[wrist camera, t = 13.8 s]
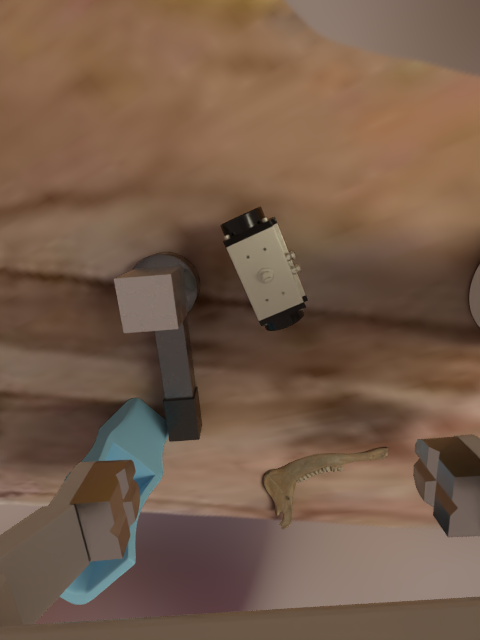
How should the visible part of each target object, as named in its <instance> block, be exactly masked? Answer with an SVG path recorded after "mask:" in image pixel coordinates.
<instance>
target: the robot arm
mask: <svg viewBox="0 0 480 640" xmlns="http://www.w3.org/2000/svg"><path fill="white" fill-rule="evenodd" d="M469 303H470V309H471V313H472V316H473V318H474V320H475V322H476V323H477V325H478V326H479V327H480V265H479V267H478V268H477V270H476V272H475V274H474V277H473V280H472V283H471V287H470V294H469ZM415 453H416V454H417V456H418V457H419V460H418V461H417V462H416V463H415V464H414V473H413V476H414V480H415V485H416V488H417V490H418V492H419V494H420V496H421V497H422V499H423V501H424V502H426V503H427V504H429V505H431V506H432V507H434V511H433V516H434V517H435V519H436V520H437V522H438V523H439V525H440V526H441V528H442V529H443V530H444V532H445V533H446V535H447V536H448V537H467V536H480V439H479V438H478V437H477V436H475V435H472V434H470V435H460V436H453V437H444V438H430V439H418V440H417V442H416V444H415ZM135 472H136V470H135V466H134V462H133V461H132V460H111V461H97V462H96V461H93V462H80V463H78V464H76V466H75V467H74V468H73V470H72V471H71V473H70V474H69V476H68V477H67V479H66V480H65V482H64V483H63V485H62V486H61V488H60V489H59V491H58V492H57V494H56V495H55V497H54V498H53V500H52V501H51V502H50V504H49V505H48V506H45V507H41V508H40V509H38V510H37V511H35V512H34V513H32V514H31V515H29V516H28V517H27V518H25V519H23V520H22V521H20V522H19V523H17V524H16V525H14V526H13V527H12V528H10V529H9V530H7V531H6V532H4V533H3V534H1V535H0V640H480V597H467V598H451V599H434V600H418V601H402V602H387V603H386V602H385V603H369V604H352V605H338V606H337V605H336V606H320V607H304V608H288V609H272V610H256V611H240V612H224V613H209V614H193V615H176V616H160V617H144V618H129V619H113V620H97V621H81V622H64V623H48V624H35V623H36V622H37V621H38V620H39V618H40V617H41V616H42V615H43V614H44V613H45V612H46V611H47V610H48V609H49V607H50V606H51V605H52V604H53V603H54V602H55V601H56V600H57V599H58V597H60V596H61V594H62V593H63V592H64V591H65V590H66V589H67V588H68V587H69V586H70V585H71V584H72V582H73V581H74V580H75V579H76V578H77V577H78V576H79V575H80V574H81V573H82V572H83V570H84V569H85V568H86V567H87V566H88V565H89V564H90V563H89V562H92V561H102V560H112V559H122V558H123V556H124V553H125V550H126V547H127V544H128V541H129V538H130V536H131V535H130V530H129V526H131V525H132V524H133V523H134V522H135V521H136V518H137V515H138V512H139V505H140V490H139V485H138V484H137V483H136V482H135V481H134V480H133V477H134V475H135Z"/></svg>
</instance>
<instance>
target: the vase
mask: <svg viewBox="0 0 480 640" xmlns="http://www.w3.org/2000/svg"><path fill="white" fill-rule="evenodd" d="M168 437H169V435H168V429H167V422H166V420H165V419H164V418H163V417H162V416H160V415H159V414H158V413H157V412H156V411H154V410H153V409H152V408H151V407H149V406H148V405H147V404H146V403H145V402H143V401H142V400H141V399H139V398H132V399H130V400H128V401H127V402H126V403H125V404H124V405H123V406H122V407H121V408H120V409H119V410H118V411H117V412H116V413H115V414H114V415H113V416H112V417H111V418H110V419H109V420H108V421H107V422H106V423H105V424H104V425H103V426H102V427H101V428H100V429H99V431H98V435H97V439H96V441H95V443H94V445H93V447H92V449H91V450H90V451H89V453H88V454H87V455H86V456H85V458H84V459H83V460H82V461H81V462H93V461H96V462H97V461H111V460H132V461H133V462H134V466H135V470H136V472H135V475H134V477H133V480H134V481H135V482H136V483H137V484H138V485H139V490H140V505H139V512H138V515H137V518H136V521H135V522H134V523H133V524H132V525H131V526H129V530H130V535H131V536H130V538H129V541H128V544H127V547H126V550H125V553H124V556H123V558H122V559H112V560H102V561H92V562H89V563H90V564H89V565H88V566H87V567H86V568H85V569H84V570H83V572H82V573H81V574H80V575H79V576H78V577H77V578H76V579H75V580H74V581H73V582H72V584H71V585H70V586H69V587H68V588H67V589H66V590H65V591H64V592H63V593H62V594H61V596H60V597H61V598H63V599H65V600H66V601H68V602H70V603H73V604H85V603H88V602H89V601H91V600H92V599H94V598H95V597H96V596H97V595H98V594H99V593H101V592H102V591H103V590H104V589H106V588H107V587H108V586H109V585H110V584H111V583H112V582H114V581H115V580H116V579H117V578H119V577H120V576H121V575H122V574H123V573H125V572H126V571H127V570H128V569H129V568H130V567H132V566H133V565H134V564H135V534H136V526H137V521H138V517H139V514H140V511H141V509H142V507H143V505H144V503H145V501H146V500H147V498H148V496H149V495H150V493H151V492H152V491H153V489H154V488H155V487H156V485H157V484H158V483H159V482H160V480H161V479H162V476H163V465H162V452H163V447H164V444H165V442H166V440H167V438H168ZM70 473H71V472H70ZM70 473H69V474H70ZM69 474H68V476H69ZM68 476H67V477H68ZM67 477H66V479H67ZM66 479H65V480H66ZM64 482H65V481H64Z"/></svg>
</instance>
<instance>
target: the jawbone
mask: <svg viewBox="0 0 480 640" xmlns="http://www.w3.org/2000/svg"><path fill="white" fill-rule="evenodd" d="M387 450H388V448H376V449H372V450H370V451H367V452H361V453H354V454H336V453H335V454H334V453H331V454H316V455H312V456H308V457H304V458H301V459H298V460H295V461H293V462H291V463H289V464H287V465H285V466H283V467H281V468H278V469H274V470H269V471H268V472H267V473H266V474H265V475H264V477H263V480H264V481H263V482H264V486H265V488H266V490H267V492H268V493H269V495H270V496H271V497H272V499H273V501H274V503H275V514H276V516H278V515H279V514H280V512H281V511H282V512H283V520H282V522H281V523H280V525H281V526H282V529H285V528H287V527H289V525H290V524H291V522H292V518H293V506H292V501H293V500H292V498H293V492H294V489H295V486H296V482H297V481H298V483H300V482H303V481H304V480H307V478H311V477H312V476H313V477H314V476H315V474H316V475H318V474H320V473H321V474H322V473H323V472H328V473H329V472H330V471H333V472H336V471H337V470H338V471H342V470H343V468H342V467H343V465H344V464H347V463H350V462H354V461H366V460H377V459H384V458H385V457H387V455H388V452H387Z"/></svg>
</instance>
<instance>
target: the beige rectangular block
mask: <svg viewBox="0 0 480 640" xmlns="http://www.w3.org/2000/svg"><path fill="white" fill-rule="evenodd" d="M114 283H115V289H116V294H117V299H118V305H119V310H120V316H121V321H122V326H123V332H124V333H134V332H147V331H160V330H173V329H179V327H180V325H181V324H182V322H183V320H184V318H185V316H186V315H187V313H188V311H189V308H188V300H187V292H186V284H185V276H184V268H183V265H174V266H161V267H149V268H136V269H134V270H132V271H130V272H127V273H125V274H123V275H121V276H119V277H116V278H114Z"/></svg>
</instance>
